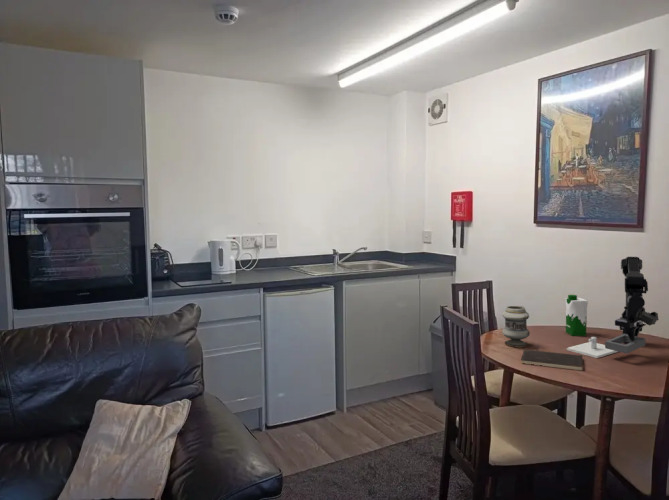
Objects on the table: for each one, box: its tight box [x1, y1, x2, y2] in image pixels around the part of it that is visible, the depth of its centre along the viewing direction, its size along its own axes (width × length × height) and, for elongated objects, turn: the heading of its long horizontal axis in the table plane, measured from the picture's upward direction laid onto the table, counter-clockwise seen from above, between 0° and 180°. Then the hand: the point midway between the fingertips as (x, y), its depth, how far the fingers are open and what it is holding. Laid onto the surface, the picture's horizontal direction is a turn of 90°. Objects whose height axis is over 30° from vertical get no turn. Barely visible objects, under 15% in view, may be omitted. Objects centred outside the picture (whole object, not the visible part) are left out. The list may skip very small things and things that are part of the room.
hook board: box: [566, 336, 619, 359], centre depth 211 cm, size 18×14×6 cm
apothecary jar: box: [502, 305, 531, 348], centre depth 223 cm, size 12×12×18 cm
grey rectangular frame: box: [604, 333, 646, 354], centre depth 200 cm, size 14×9×3 cm, turn 119°
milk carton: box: [565, 294, 589, 337], centre depth 238 cm, size 9×9×20 cm
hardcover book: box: [520, 349, 584, 371], centre depth 198 cm, size 16×23×2 cm
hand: (633, 340), depth 203 cm, fingers closed on grey rectangular frame, 2 cm apart
